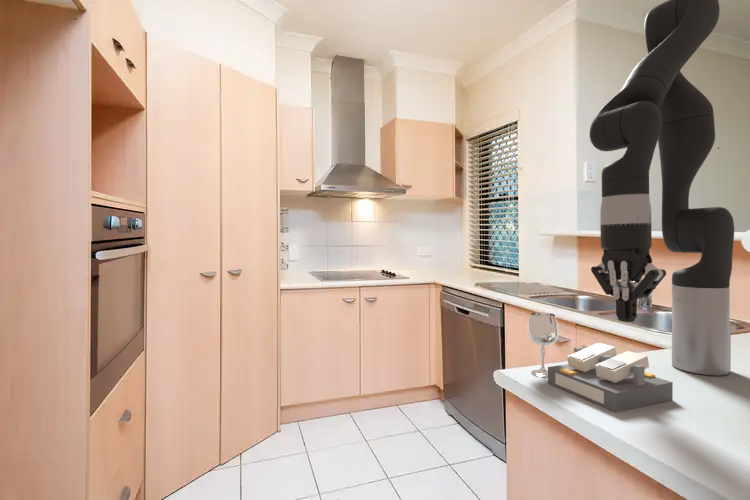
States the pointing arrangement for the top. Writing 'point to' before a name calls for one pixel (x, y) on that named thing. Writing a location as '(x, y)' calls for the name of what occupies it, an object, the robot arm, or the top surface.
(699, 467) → the top surface
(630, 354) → the rocker far
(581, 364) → the block
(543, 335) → the wineglass
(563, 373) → the switch unit
